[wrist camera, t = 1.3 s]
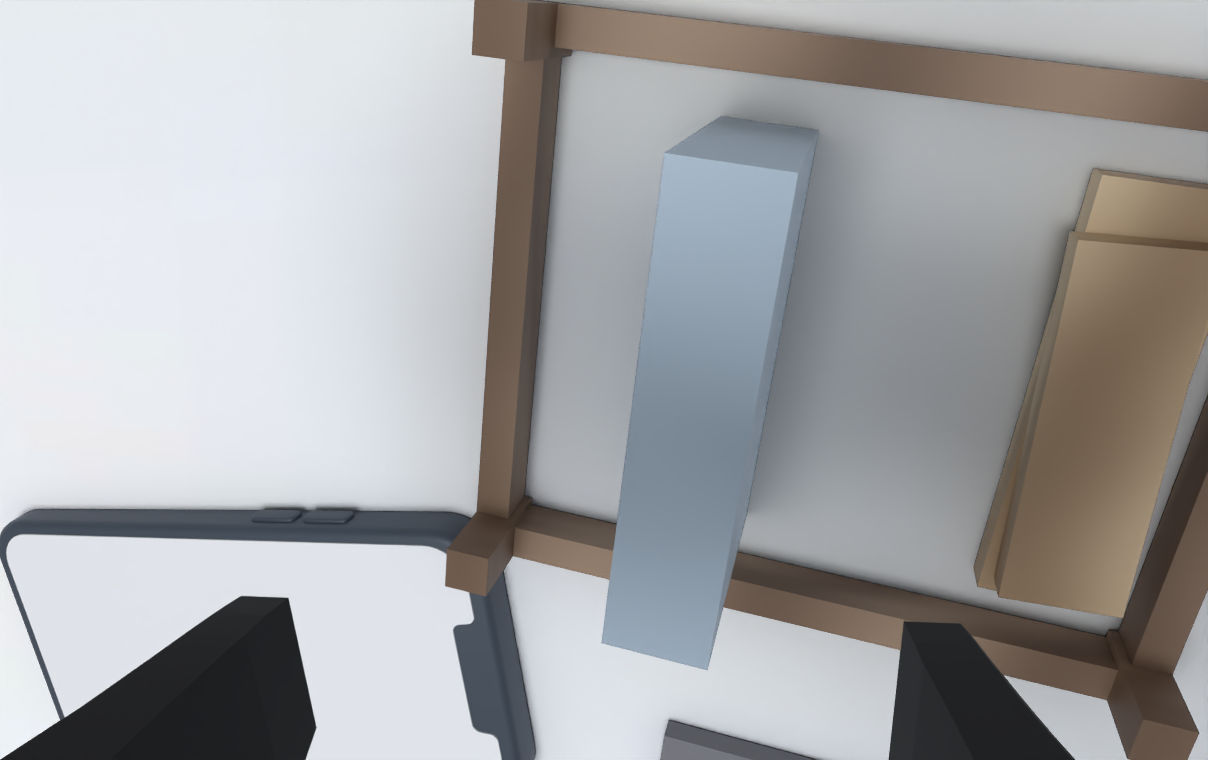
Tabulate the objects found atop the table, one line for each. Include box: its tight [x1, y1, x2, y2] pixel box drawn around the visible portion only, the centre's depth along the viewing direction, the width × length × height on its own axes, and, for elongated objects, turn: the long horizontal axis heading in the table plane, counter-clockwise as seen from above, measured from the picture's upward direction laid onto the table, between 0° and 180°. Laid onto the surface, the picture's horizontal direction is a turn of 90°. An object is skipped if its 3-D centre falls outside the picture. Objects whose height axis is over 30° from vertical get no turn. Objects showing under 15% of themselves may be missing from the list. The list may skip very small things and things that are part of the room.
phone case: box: [0, 509, 535, 760], centre depth 28 cm, size 9×2×16 cm
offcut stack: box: [974, 169, 1208, 618], centre depth 19 cm, size 3×9×2 cm, turn 174°
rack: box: [445, 0, 1208, 760], centre depth 19 cm, size 16×13×3 cm
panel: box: [602, 116, 819, 670], centre depth 18 cm, size 2×9×6 cm, turn 174°
